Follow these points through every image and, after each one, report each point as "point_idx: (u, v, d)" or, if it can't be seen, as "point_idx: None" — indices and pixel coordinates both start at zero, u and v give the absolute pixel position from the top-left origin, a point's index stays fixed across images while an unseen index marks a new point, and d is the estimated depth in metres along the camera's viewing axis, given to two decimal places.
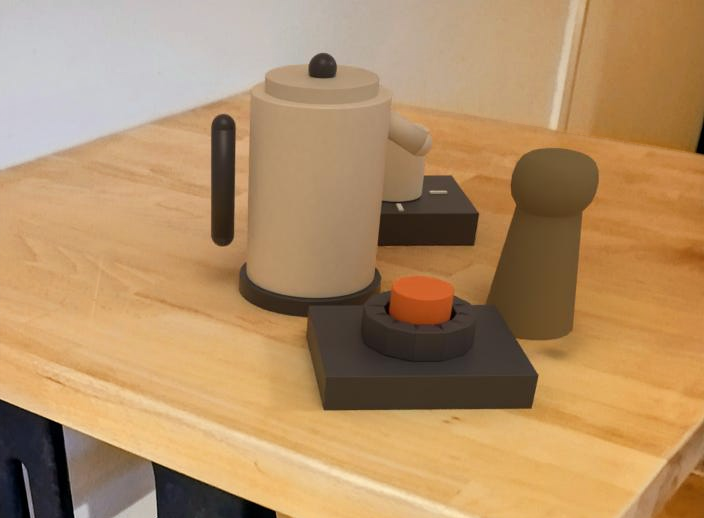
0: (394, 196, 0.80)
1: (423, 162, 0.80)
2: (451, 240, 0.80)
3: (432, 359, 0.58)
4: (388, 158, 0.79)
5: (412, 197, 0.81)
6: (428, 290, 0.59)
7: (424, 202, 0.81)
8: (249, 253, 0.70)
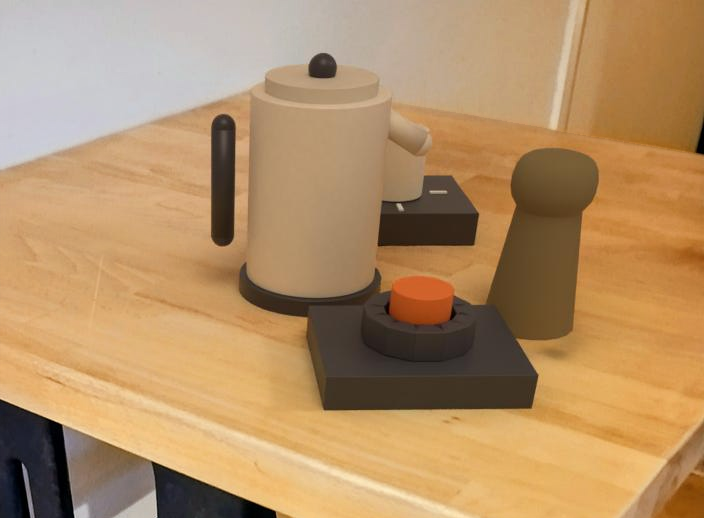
0: (394, 196, 0.80)
1: (423, 162, 0.80)
2: (451, 240, 0.80)
3: (432, 359, 0.58)
4: (388, 158, 0.79)
5: (412, 197, 0.81)
6: (428, 290, 0.59)
7: (424, 202, 0.81)
8: (249, 253, 0.70)
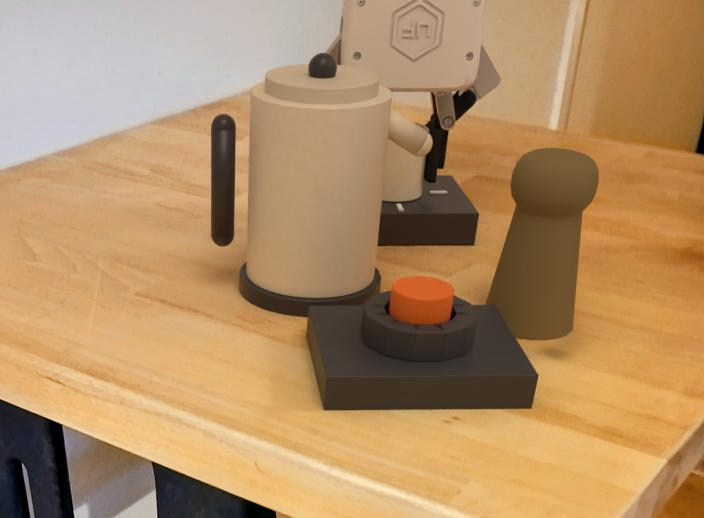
0: (394, 196, 0.80)
1: (423, 162, 0.80)
2: (451, 240, 0.80)
3: (432, 359, 0.58)
4: (388, 158, 0.79)
5: (412, 197, 0.81)
6: (428, 290, 0.59)
7: (424, 202, 0.81)
8: (249, 253, 0.70)
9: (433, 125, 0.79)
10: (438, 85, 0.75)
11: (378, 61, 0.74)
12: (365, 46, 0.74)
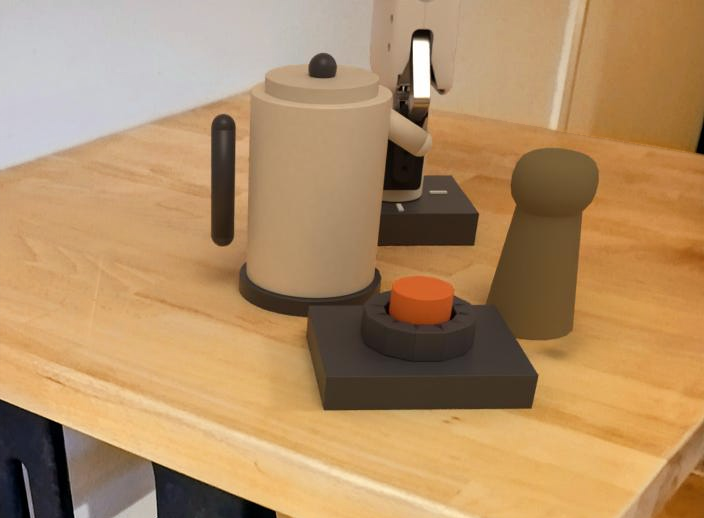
0: None
1: None
2: (451, 240, 0.80)
3: (432, 359, 0.58)
4: None
5: None
6: (428, 290, 0.59)
7: (424, 202, 0.81)
8: (249, 253, 0.70)
9: None
10: None
11: None
12: None
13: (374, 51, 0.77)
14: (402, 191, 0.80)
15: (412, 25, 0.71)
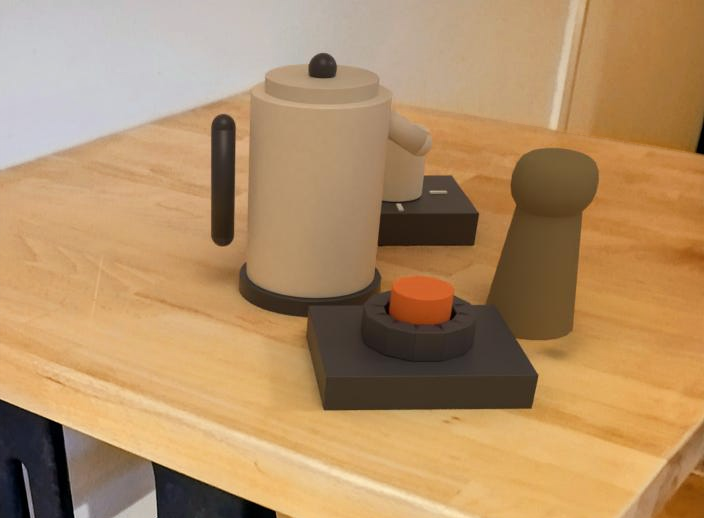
0: None
1: None
2: (451, 240, 0.80)
3: (432, 359, 0.58)
4: None
5: None
6: (428, 290, 0.59)
7: (424, 202, 0.81)
8: (249, 253, 0.70)
9: None
10: None
11: None
12: None
13: None
14: (401, 191, 0.80)
15: None
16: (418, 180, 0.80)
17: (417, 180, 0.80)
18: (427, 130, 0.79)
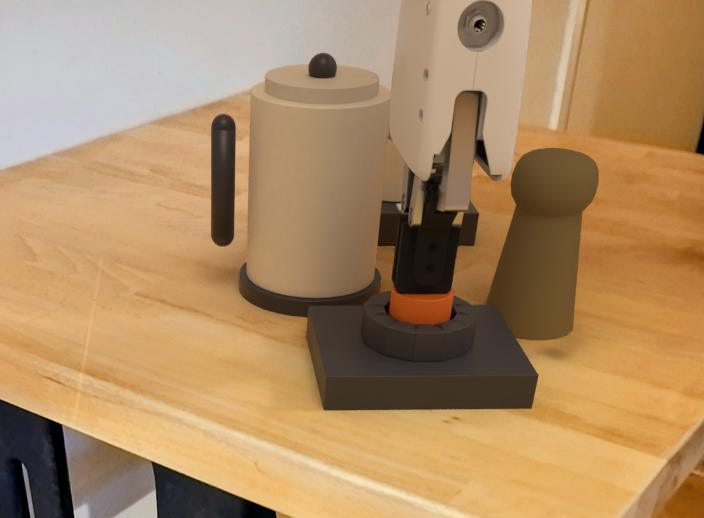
0: None
1: None
2: None
3: (432, 359, 0.58)
4: None
5: None
6: None
7: None
8: (249, 253, 0.70)
9: None
10: None
11: None
12: None
13: (397, 115, 0.54)
14: (401, 191, 0.80)
15: (456, 85, 0.48)
16: None
17: None
18: None
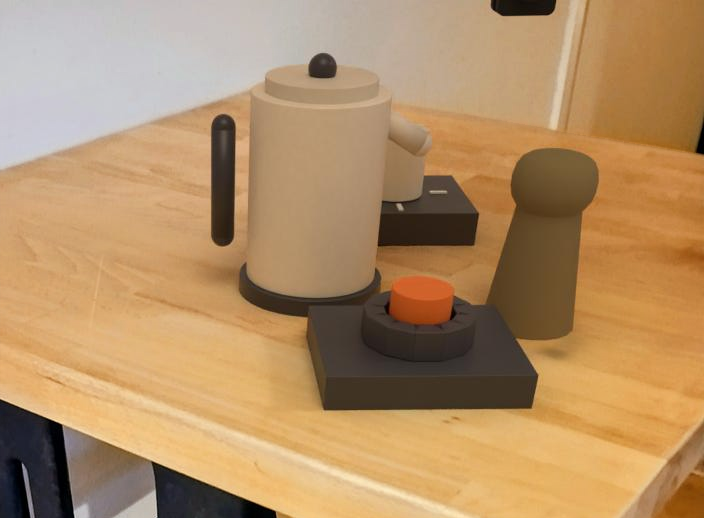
0: None
1: None
2: (451, 240, 0.80)
3: (432, 359, 0.58)
4: None
5: None
6: (428, 290, 0.59)
7: (424, 202, 0.81)
8: (249, 253, 0.70)
9: None
10: None
11: None
12: None
13: None
14: (401, 191, 0.80)
15: None
16: (418, 180, 0.80)
17: (417, 180, 0.80)
18: (427, 130, 0.79)
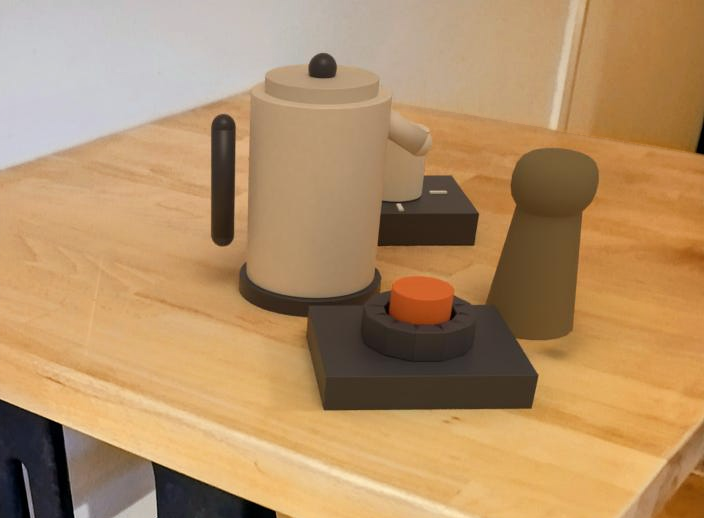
0: None
1: None
2: (451, 240, 0.80)
3: (432, 359, 0.58)
4: None
5: None
6: (428, 290, 0.59)
7: (424, 202, 0.81)
8: (249, 253, 0.70)
9: None
10: None
11: None
12: None
13: None
14: (401, 191, 0.80)
15: None
16: (418, 180, 0.80)
17: (417, 180, 0.80)
18: (427, 130, 0.79)
